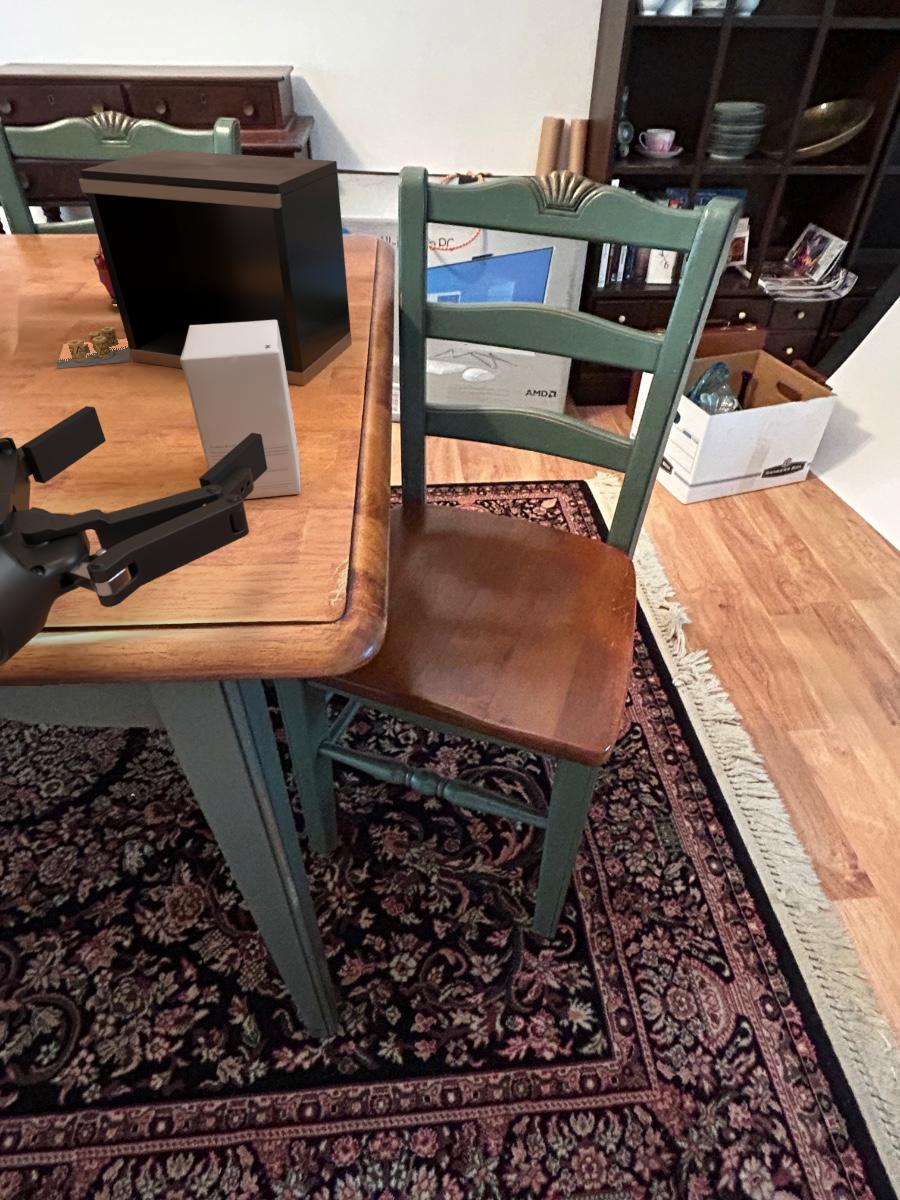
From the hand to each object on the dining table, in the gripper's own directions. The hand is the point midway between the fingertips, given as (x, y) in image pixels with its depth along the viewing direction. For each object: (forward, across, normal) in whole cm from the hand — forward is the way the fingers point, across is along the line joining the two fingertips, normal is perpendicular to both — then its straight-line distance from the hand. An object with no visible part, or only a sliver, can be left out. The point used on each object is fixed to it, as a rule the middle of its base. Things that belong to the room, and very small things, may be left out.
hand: (175, 436), depth 53 cm
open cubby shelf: (+34, -16, -8) cm, 39 cm away
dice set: (+29, -33, -9) cm, 45 cm away
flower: (+45, -38, -9) cm, 60 cm away
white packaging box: (+9, 0, -9) cm, 13 cm away
